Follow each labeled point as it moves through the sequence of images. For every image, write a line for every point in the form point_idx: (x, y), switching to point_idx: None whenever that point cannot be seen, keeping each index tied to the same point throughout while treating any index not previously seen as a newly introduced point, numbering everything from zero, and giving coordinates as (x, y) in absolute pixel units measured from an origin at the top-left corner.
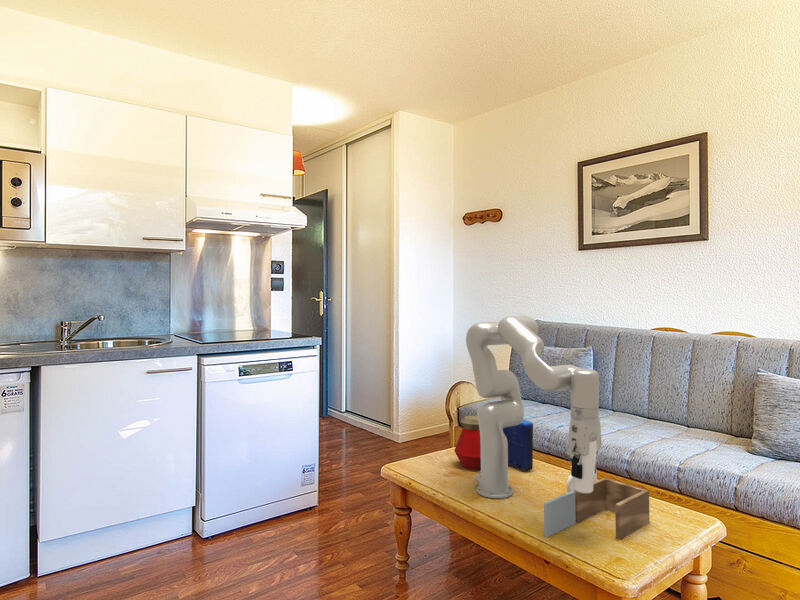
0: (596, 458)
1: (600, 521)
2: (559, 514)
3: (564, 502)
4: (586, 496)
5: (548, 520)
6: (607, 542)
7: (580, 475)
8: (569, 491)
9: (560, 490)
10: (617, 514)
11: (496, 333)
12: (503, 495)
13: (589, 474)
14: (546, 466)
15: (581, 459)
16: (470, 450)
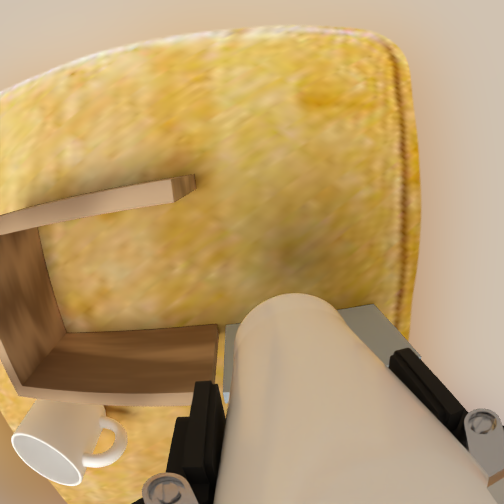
0: (160, 478)
1: (140, 293)
2: None
3: None
4: (147, 370)
5: (386, 327)
6: (248, 183)
7: (416, 364)
8: (123, 431)
9: (106, 449)
10: (181, 187)
11: None
12: None
13: (357, 349)
14: (66, 496)
15: (478, 452)
16: None
